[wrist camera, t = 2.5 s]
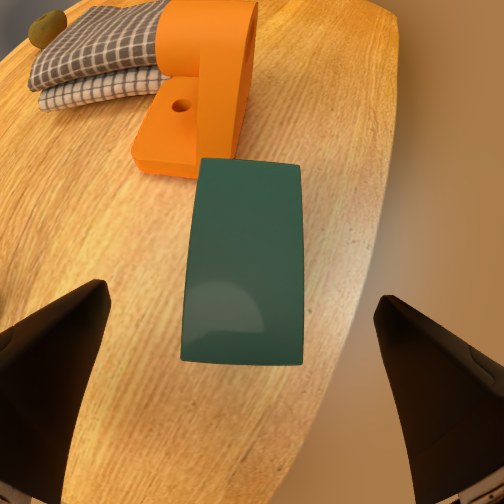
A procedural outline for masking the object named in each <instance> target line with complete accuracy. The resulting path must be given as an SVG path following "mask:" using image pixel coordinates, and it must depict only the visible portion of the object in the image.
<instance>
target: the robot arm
mask: <svg viewBox="0 0 504 504" xmlns="http://www.w3.org/2000/svg"><path fill="white" fill-rule="evenodd" d="M110 309H111V299H110V295H109V290H108V286H107V283H106V281H104V280H99V279H93V280H91V281H89V282H88V283H86V284H84V285H82V286H80V287H78V288H77V289H75V290H73V291H71V292H69V293H68V294H66V295H64V296H62V297H61V298H59V299H57V300H55V301H54V302H52V303H50V304H48V305H47V306H45V307H43V308H41V309H40V310H38V311H36V312H35V313H33V314H31V315H30V316H28V317H26V318H25V319H23V320H21V321H20V322H18V323H16V324H15V325H14V326H11V327H10V328H8V329H7V330H5V331H3V332H2V333H0V504H31V499H32V497H33V498H35V499H38V500H40V501H42V502H44V503H47V504H61V496H62V489H63V483H64V476H65V471H66V465H67V460H68V455H69V450H70V445H71V441H72V437H73V433H74V429H75V425H76V421H77V417H78V414H79V410H80V406H81V403H82V400H83V396H84V393H85V390H86V387H87V383H88V380H89V377H90V374H91V371H92V368H93V366H94V363H95V360H96V357H97V354H98V351H99V349H100V346H101V342H102V338H103V334H104V331H105V327H106V323H107V320H108V316H109V312H110ZM373 320H374V325H375V328H376V333H377V338H378V342H379V347H380V351H381V356H382V359H383V363H384V366H385V369H386V372H387V376H388V379H389V382H390V386H391V389H392V392H393V396H394V400H395V404H396V407H397V411H398V415H399V419H400V423H401V426H402V431H403V435H404V440H405V444H406V448H407V454H408V458H409V464H410V469H411V475H412V480H413V487H414V494H415V501H416V504H436V503H438V502H440V501H443V500H445V499H447V498H449V497H451V496H453V495H455V494H457V493H458V497H459V499H457V500H455V501H454V502H452V503H451V504H504V367H503V366H501V365H500V364H498V363H497V362H495V361H493V360H492V359H490V358H489V357H487V356H485V355H484V354H483V353H481V352H480V351H478V350H476V349H475V348H474V347H472V346H471V345H468V344H467V343H466V342H465V341H463V340H462V339H460V338H459V337H457V336H456V335H454V334H453V333H451V332H450V331H448V330H447V329H445V328H444V327H442V326H441V325H439V324H438V323H436V322H435V321H433V320H432V319H430V318H428V317H427V316H425V315H424V314H422V313H420V312H419V311H418V310H416V309H414V308H413V307H411V306H410V305H408V304H407V303H405V302H403V301H402V300H400V299H399V298H397V297H395V296H394V295H383V296H382V297H381V298H380V301H379V303H378V306H377V308H376V310H375V313H374V317H373Z"/></svg>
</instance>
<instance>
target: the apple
mask: <svg viewBox="0 0 504 504" xmlns="http://www.w3.org/2000/svg"><path fill="white" fill-rule="evenodd" d="M66 28H67V18H66V15H65V14H64V12H62V11H60V10H53V11H51V12H48V13H46V14H44V15H43V16H41V17H40V18H39V19H37V20H36V21H35V22H34V23H33V24H32V25H31V26H30V28H29V32H28V37H29V40H30V42H31V43H32V44H33V45H34V46H35V47H37V48H40V49H45V48H46V47H47V46H48V45H49V44H50V43H51V42H52V41H53V40H54V39H55V38H56V37H57V36H58V35H59V34H60V33H61V32H63V31H64V30H65V29H66Z"/></svg>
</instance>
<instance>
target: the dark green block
mask: <svg viewBox="0 0 504 504" xmlns="http://www.w3.org/2000/svg"><path fill="white" fill-rule="evenodd" d="M303 344H304V238H303V209H302V188H301V171H300V165H295V164H286V163H276V162H266V161H254V160H241V159H224V158H202V159H201V162H200V168H199V175H198V181H197V188H196V194H195V201H194V209H193V216H192V224H191V232H190V241H189V249H188V259H187V269H186V279H185V291H184V303H183V317H182V334H181V354H180V359H181V360H182V361H189V362H200V363H213V364H230V365H259V366H293V365H302V364H303Z"/></svg>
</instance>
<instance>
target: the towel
mask: <svg viewBox="0 0 504 504" xmlns="http://www.w3.org/2000/svg"><path fill="white" fill-rule="evenodd" d="M170 1H171V0H160V1H156V2H150V3H144V4H140V5H135V6H132V7H126V8H118V7H112V6H108V7H106V6H100V7H97V6H93V7H91V8H89V9H88V10H87V11H86V12H85V13H84V14H83V15H82V16H81V17H79V18H78V19H77V20H76V21H75V22H74V23H72V24H71V25H70V26H69V27H67V28H66V29H65V30H64V31H63V32H61V33H60V34H59V35H58V36H57V37H56V38H55V39H54V40H53V41H52V42H51V43H50V44H49V45H48V46H47V47H46V48H45V49H44V50H43V51H42V52H41V53H40V54H39V56H38V57H37V59H36V60H35V61H34V63H33V64H32V69H31V72H30V79H29V81H28V87H29V88H30V91H32V92H36V91H40V90H42V92H41V94H40V97H39V100H38V103H39V109H40V110H41V111H43V112H47V113H49V112H52V111H59V110H62V109H69V108H70V107H77V106H79V105H85V104H88V103H89V104H90V103H94V102H97V101H104V100H110V99H115V98H120V97H126V96H135V95H143V94H155V93H157V92H158V90H159V88H160V87H161V85H162V83H163V81H164V80H168V79H170V78H172V76H164V75H163V74H162V73H161V72H160V70H159V68H158V65H157V61H156V54H155V39H156V31H157V26H158V23H159V19H160V17H161V14H162V12H163V10H164V8H165V7H166V5H167V4H168V3H169V2H170Z"/></svg>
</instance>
